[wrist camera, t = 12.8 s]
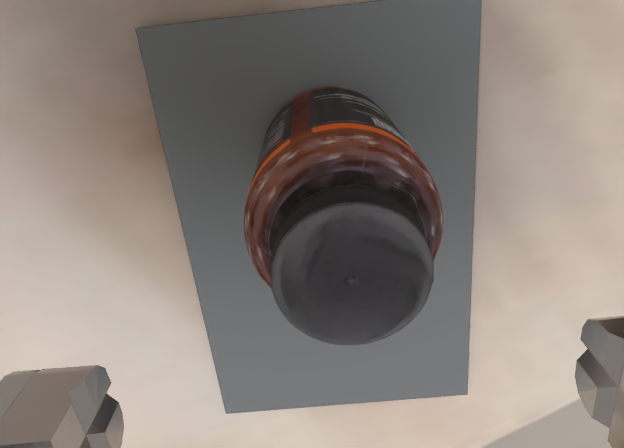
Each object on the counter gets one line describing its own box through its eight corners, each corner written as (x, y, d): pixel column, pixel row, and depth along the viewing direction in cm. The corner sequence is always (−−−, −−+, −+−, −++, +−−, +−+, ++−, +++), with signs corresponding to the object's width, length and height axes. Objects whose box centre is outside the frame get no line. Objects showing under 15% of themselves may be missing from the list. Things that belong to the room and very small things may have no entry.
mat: (138, 28, 20) (135, 28, 20) (478, -11, 20) (481, -12, 19) (227, 408, 29) (225, 413, 28) (465, 389, 28) (467, 394, 28)
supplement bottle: (265, 212, 23) (230, 379, 13) (261, 83, 21) (213, 159, 10) (391, 213, 23) (457, 380, 13) (402, 84, 21) (495, 161, 10)
